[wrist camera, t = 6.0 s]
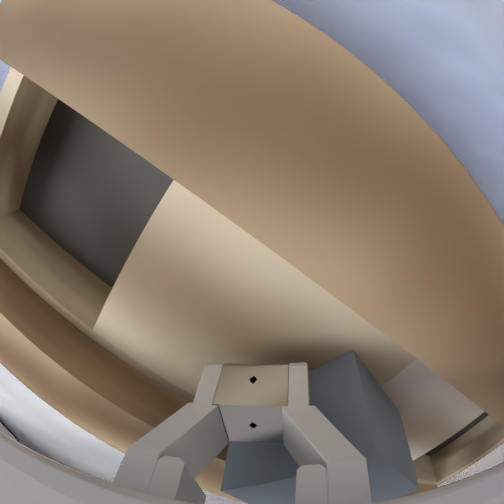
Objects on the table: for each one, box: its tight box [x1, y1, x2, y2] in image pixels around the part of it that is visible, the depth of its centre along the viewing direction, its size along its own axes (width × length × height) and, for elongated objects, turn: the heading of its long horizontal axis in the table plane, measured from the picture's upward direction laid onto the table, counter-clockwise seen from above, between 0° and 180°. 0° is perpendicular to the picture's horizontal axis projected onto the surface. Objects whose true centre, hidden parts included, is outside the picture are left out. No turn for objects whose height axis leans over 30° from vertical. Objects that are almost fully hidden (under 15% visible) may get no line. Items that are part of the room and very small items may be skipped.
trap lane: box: [0, 0, 504, 504], centre depth 11 cm, size 16×34×5 cm, turn 53°
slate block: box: [220, 349, 419, 504], centre depth 9 cm, size 5×5×4 cm
